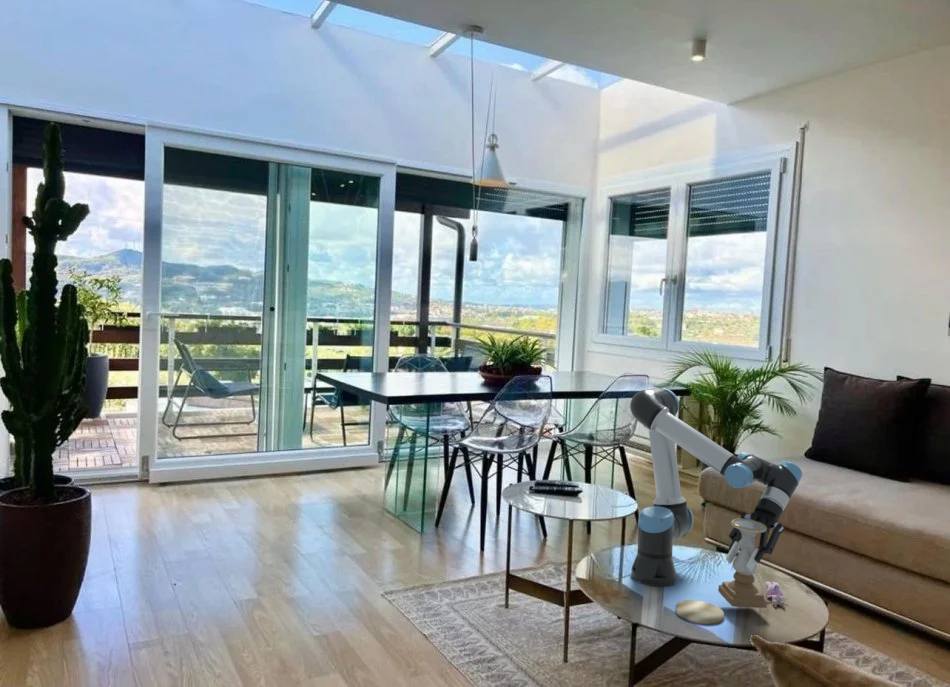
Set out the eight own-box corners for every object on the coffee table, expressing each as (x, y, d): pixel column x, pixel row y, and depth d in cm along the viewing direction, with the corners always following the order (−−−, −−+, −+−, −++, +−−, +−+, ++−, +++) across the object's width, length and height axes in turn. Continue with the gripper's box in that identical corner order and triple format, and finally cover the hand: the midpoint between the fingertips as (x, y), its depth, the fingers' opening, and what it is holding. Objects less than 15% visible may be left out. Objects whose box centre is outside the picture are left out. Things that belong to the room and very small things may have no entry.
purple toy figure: (789, 614, 211) (780, 587, 225) (791, 596, 210) (781, 571, 224) (768, 611, 212) (760, 585, 227) (769, 594, 211) (761, 569, 226)
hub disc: (666, 612, 206) (667, 609, 206) (688, 599, 216) (688, 596, 216) (711, 628, 196) (711, 624, 196) (731, 614, 206) (731, 610, 206)
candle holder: (751, 591, 215) (758, 518, 213) (767, 608, 204) (775, 531, 202) (717, 590, 214) (724, 516, 212) (732, 606, 203) (739, 529, 201)
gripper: (805, 520, 208) (772, 582, 200) (748, 503, 224) (715, 561, 215) (797, 505, 205) (763, 568, 196) (740, 490, 221) (706, 547, 212)
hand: (738, 564), depth 206 cm, fingers closed on candle holder, 6 cm apart
